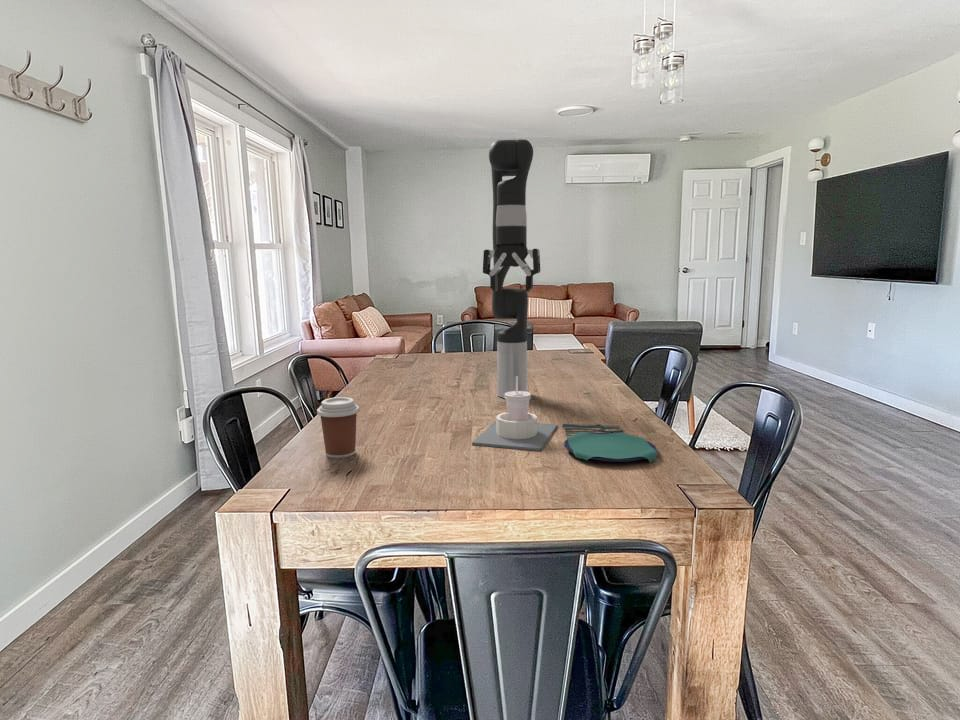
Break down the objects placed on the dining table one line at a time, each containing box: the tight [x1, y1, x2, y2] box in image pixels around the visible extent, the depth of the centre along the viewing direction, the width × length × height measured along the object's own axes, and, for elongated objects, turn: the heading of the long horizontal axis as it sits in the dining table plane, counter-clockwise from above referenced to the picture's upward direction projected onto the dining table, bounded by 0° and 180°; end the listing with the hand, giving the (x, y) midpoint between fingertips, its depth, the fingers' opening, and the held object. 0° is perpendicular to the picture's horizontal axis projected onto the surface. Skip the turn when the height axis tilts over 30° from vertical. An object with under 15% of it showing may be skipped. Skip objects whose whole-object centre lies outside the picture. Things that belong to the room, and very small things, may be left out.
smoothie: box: [504, 376, 532, 422], centre depth 139 cm, size 6×6×14 cm
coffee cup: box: [316, 396, 360, 459], centre depth 128 cm, size 9×9×12 cm
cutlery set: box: [562, 422, 658, 464], centre depth 133 cm, size 20×30×2 cm, turn 179°
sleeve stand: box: [471, 412, 558, 452], centre depth 140 cm, size 20×16×5 cm
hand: (511, 291), depth 145 cm, fingers open, 8 cm apart
